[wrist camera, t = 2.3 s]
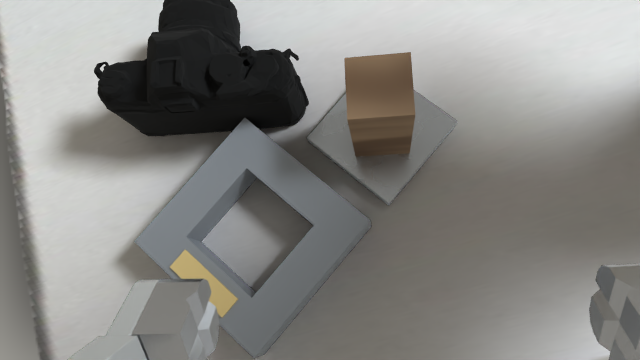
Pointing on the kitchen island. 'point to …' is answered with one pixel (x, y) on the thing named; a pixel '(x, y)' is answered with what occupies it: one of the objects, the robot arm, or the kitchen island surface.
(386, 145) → the walnut peg
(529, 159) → the kitchen island surface
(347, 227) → the hole plate
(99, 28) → the kitchen island surface
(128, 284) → the kitchen island surface
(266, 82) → the film camera
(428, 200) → the kitchen island surface
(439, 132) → the pad
